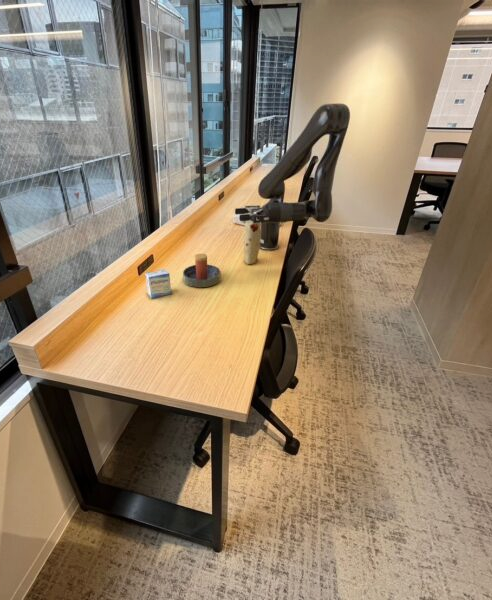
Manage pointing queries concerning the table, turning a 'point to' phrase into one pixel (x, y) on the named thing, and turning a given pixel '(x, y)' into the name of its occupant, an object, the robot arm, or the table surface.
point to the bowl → (191, 280)
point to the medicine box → (158, 283)
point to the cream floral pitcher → (251, 242)
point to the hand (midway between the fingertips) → (237, 214)
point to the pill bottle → (201, 266)
